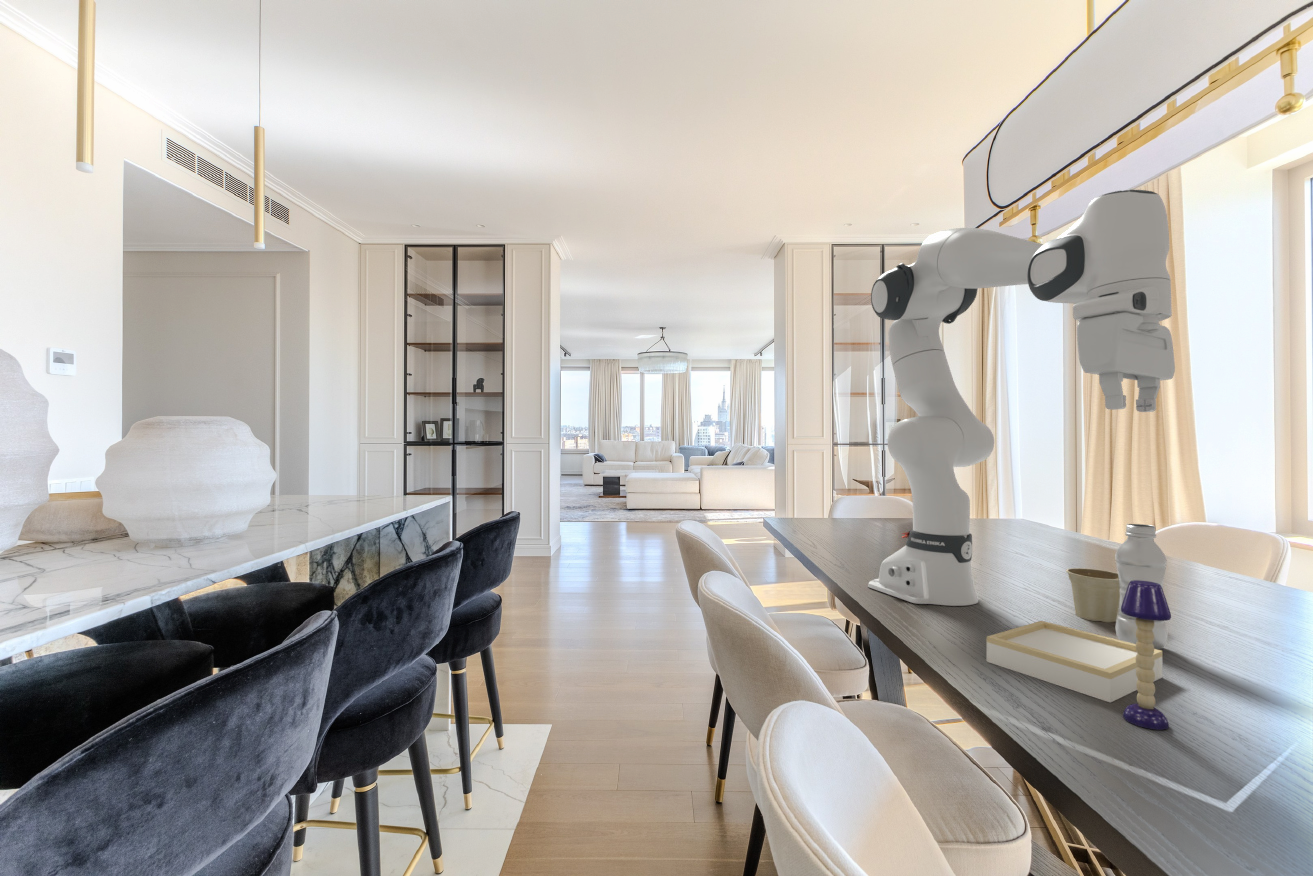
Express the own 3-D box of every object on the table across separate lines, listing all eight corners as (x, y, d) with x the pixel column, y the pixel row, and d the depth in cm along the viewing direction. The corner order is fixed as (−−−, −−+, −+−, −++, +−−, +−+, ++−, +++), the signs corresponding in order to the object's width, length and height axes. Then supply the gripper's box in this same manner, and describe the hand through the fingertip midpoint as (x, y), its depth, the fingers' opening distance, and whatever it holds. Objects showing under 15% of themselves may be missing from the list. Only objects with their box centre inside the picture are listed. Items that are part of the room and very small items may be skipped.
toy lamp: (1111, 710, 73) (1111, 577, 73) (1151, 712, 72) (1152, 578, 72) (1139, 729, 68) (1139, 586, 68) (1182, 732, 67) (1182, 588, 67)
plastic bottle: (1178, 656, 91) (1178, 529, 91) (1128, 653, 92) (1129, 527, 93) (1152, 642, 97) (1152, 523, 98) (1106, 639, 99) (1106, 522, 99)
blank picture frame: (986, 661, 89) (986, 636, 89) (1041, 643, 97) (1041, 620, 97) (1110, 702, 75) (1110, 673, 75) (1162, 677, 83) (1162, 650, 83)
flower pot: (1131, 619, 110) (1131, 573, 110) (1123, 630, 104) (1124, 581, 104) (1071, 608, 117) (1071, 565, 117) (1061, 618, 111) (1061, 573, 111)
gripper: (1132, 322, 87) (1135, 414, 86) (1065, 304, 76) (1068, 409, 76) (1187, 313, 82) (1191, 411, 81) (1123, 293, 71) (1127, 405, 71)
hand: (1131, 410), depth 78 cm, fingers open, 8 cm apart
